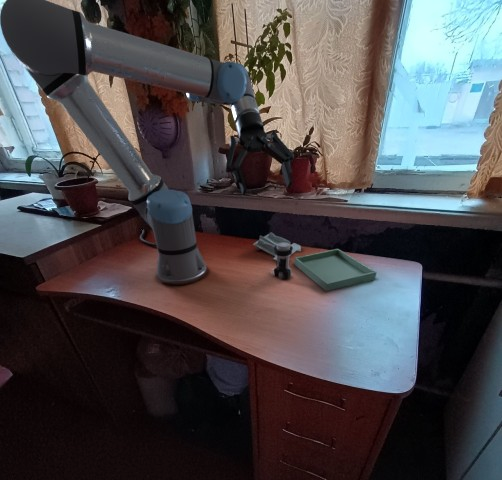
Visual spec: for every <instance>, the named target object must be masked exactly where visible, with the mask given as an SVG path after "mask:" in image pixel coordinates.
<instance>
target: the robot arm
mask: <svg viewBox="0 0 502 480" xmlns="http://www.w3.org/2000/svg"><path fill="white" fill-rule="evenodd" d="M0 29H1V32H2V33H1V34H2V35H3V39H4V41H5V43H6V45H7V47H8V48H9V49H10V51H11V54H12V55H13V57H14V58H15V59H16V61H17V63H18V64H19V65H20V66H21V67H22V68H23V69H24V70H25V71H26V72H27V74H28V75H29V76H30V77H31V78H32V79H33V81H34V82H35V84H36V85H37V86H38V87H39V89H41V91H42V92H43V94H44V95H45V96H46V97H47V98H48V99H51V100H52V101H53V100H54V101H57V102H58V103H60V105H61V106H62V107H63V109H64V110H65V111H66V112H67V114H68V116H70V117H71V119H72V120H73V122H74V123H75V124H76V125H77V127H78V128H79V129H80V131H81V132H82V134H83V135H84V136H85V137H86V139H88V141H89V142H90V143H91V145H92V146H93V148H95V150H96V151H97V152H98V154H99V155H100V156H101V158H102V159H103V160H104V162H105V163H106V164H107V165H108V167H109V168H110V169H111V171H112V172H113V173H114V174H115V175H116V177H117V178H118V180H119V181H120V182H121V183H122V185H123V186H124V187H125V188H126V190H127V191H128V201H129V202H130V203H131V205H132V206H133V207H134V208H135V210H136V211H137V212H138V213H139V215H140V217H141V219H143V221H144V222H146V223H147V224H148V226H149V227H150V228H151V230H152V231H153V236H154V240H155V243H153V242H150V241H148V240H145V239H144V238H143V237H144V236H145V234H146V231H145V229H143V230H142V229H141V231H142V233H141V234H140V236H139V240H140V241H141V242H142V243H144V244H146V245H149V246H152V247H156V248H157V252H158V253H157V254H158V255H157V263H156V264H157V265H156V275H157V279H158V281H160V282H161V283H163V284H166V285H170V286H171V285H172V286H180V285H187V284H192V283H195V282H197V281H199V280H201V279H203V278H204V277H205V276H206V275H207V272H208V269H207V264H206V261H205V260H204V258H203V255H202V254H201V252H200V250H199V248H198V242H197V235H196V229H195V223H194V216H193V206H192V203H191V200H190V197H189V196H188V194H186V193H185V192H184V191H181V190H175V189H169V187H168V185H166V183H165V181H164V180H163V179H162V177H161V176H160V175H159V174H153V173H152V172H151V170H150V169H149V167H148V166H147V164H146V163H145V162H144V160H143V159H142V157H141V156H140V154H139V152H138V151H137V150H136V148H135V147H134V145H133V144H132V142H131V141H130V140H129V138H128V136H127V135H126V134H125V133H124V131H123V129H122V128H121V126H120V125H119V124H118V121H116V119H115V118H114V116H113V114H112V113H111V112H110V110H109V109H108V108H107V106H106V104H105V103H104V102H103V101H102V99H101V97H100V96H99V95H98V93H97V92H96V90H95V89H94V87H93V86H92V84H91V83H90V81H89V78H88V76H89V75H90V74H91V73H98V74H102V75H107V76H111V77H113V78H114V77H115V78H118V79H123V80H127V81H133V82H136V83H141V84H144V85H145V84H146V85H150V86H154V87H157V88H162V89H167V90H171V91H176V92H180V93H183V94H185V95H186V98H187V99H188V100H189V101H192V102H197V103H199V104H200V103H205V104H213V105H222V106H229V107H230V110H231V114H232V117H233V121H234V124H235V128H236V131H237V135H238V137H235V135H232V134H231V135H230V137H229V151H228V154H227V159H226V163H225V170H224V171H225V173H231V175H232V176H233V179H234V182H235V184H239V188H240V192H241V195H242V196H246V192H247V187H246V182H245V178H244V176H243V172H242V168H241V165H242V163H243V161H244V160H245V157H246V156H247V154H248V153H249V154H254V153H261V152H262V153H264V154H267V155H268V156H270V157H271V158H273V160H275V161H276V162H278V163H279V164H280V165H281V168H280V169H281V171H282V175H283V179H284V183H285V185H286V189H290V188H291V186H292V184H293V179H292V177H291V175H292V173H293V170H292V167H291V164H292V163H293V161H294V158H295V154H293V152H292V151H291V150H290V149H289V147H288V146H287V145H286V144H285V143H284V142H283V141H282V140H281V138H280V137H279V136H278V133H277V131H276V130H274V129H273V130H272V131H271V133H267V132H266V131H265V127H264V123H263V119H262V116H261V113H260V109H259V106H258V103H257V100H256V96H255V92H254V88H253V84H252V81H251V78H250V76H249V73H248V70H247V69H246V67H245V66H244V65H243V64H242V63H239V62H236V61H235V62H234V61H229V60H228V61H225V62H223V61H219V60H216V59H213V58H208V57H206V56H203V55H200V54H196V53H193V52H190V51H187V50H182V49H179V48H176V47H173V46H169V45H166V44H163V43H160V42H156V41H153V40H149V39H146V38H143V37H140V36H137V35H134V34H129V33H127V32H123V31H119V30H117V29H113V28H110V27H108V26H103V25H100V24H97V23H94V22H90V21H88V19H87V18H86V17H85V15H84V14H83V13H82V12H80V11H77V10H74V9H71V8H69V7H65V6H62V5H59V4H58V3H54V2H52V1H49V0H5V1H4V2H3V4H2V6H1V10H0ZM238 144H239V145H240V146H241V147H242V148H241V150H240V152H239V154H238V156H237V157H236V160H235V161H234V163H233V159H234V154H235V150H236V148H237V147H238ZM232 163H233V164H232Z"/></svg>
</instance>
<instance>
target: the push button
mask: <svg viewBox="0 0 502 480" xmlns="http://www.w3.org/2000/svg"><path fill="white" fill-rule="evenodd" d="M290 245H291V243H290V244H289V243H286V242H281V243H278V244H277V246H275V247H274V251H275V254H276V255H277V261H276V267H275V268H274V269H273V268H271V269H270V271H271V272H270V274H271V275H274V277H276V278H279V279H284V280H286V281H288V280H289V279H291V277H292V269H291V267H290V256H291V255H290V254H292V250H293V247H292V246H290ZM289 255H290V256H289ZM292 255H293V254H292Z"/></svg>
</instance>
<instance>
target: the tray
mask: <svg viewBox="0 0 502 480" xmlns="http://www.w3.org/2000/svg"><path fill="white" fill-rule="evenodd" d="M293 265H294V266H295V267H296V268H298V269H299V270H300V271H301V272H302V273H304V274H305V275H306V276H307V277H309V278H310V279H311V280H313V282H314V283H316V284H317V285H318V286H320V287H321V288H322V289H323V290H324V291H325V292H329V291H333V290H336V289H341V288H345V287H349V286H354V285H357V284H358V285H359V284H362V283H365V282H369V281H373V280H376V275H377V271H376V270H374V269H372V268H371V267H369V266H368V265H366V264H365V263H362V262H361V261H359V260H357V259H356V258H354V257H352V256H351V255H349V254H348V253H346V252H344V251H343V250H341V249H339V248H335V249H330V250H325V251H319V252H316V253H311V254H306V255H301V256H296V257H294V262H293Z"/></svg>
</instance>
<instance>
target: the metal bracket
mask: <svg viewBox="0 0 502 480" xmlns="http://www.w3.org/2000/svg"><path fill="white" fill-rule="evenodd" d="M281 242H286V243H289V244H290V246H292V247H293V250H292V254H290V255H289V257H291V256H292V255H293V254H294V253H295V252H299V253H300V252H302V246H301V245H300V244H298V243H295V242H293V243H292V244H291V241H290V240H288V239H286V238H284V237H282V236H278V235H276V234H274V233H273V232H271V231H270V232H269V233H268V234H266V235H264V236H262V235H259V239H258V240H257V241H255V242H254V243H253V244H252V246H254V247H256V251H257V252H259V250H262V251H264V252H265V253H268V254H270V255H271V256H274V257H273V261H275V262H277V255H276V254H275V251H274V247H275V246H277V244H278V243H281Z"/></svg>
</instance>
